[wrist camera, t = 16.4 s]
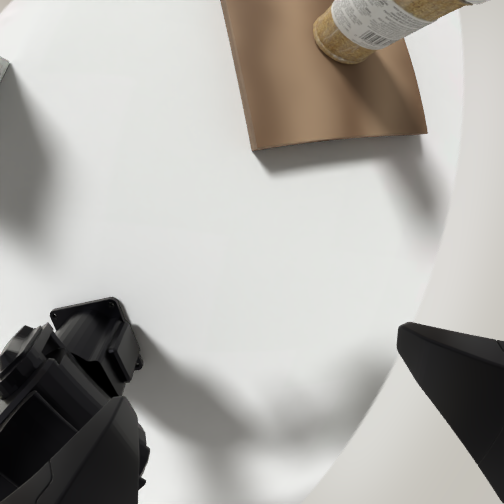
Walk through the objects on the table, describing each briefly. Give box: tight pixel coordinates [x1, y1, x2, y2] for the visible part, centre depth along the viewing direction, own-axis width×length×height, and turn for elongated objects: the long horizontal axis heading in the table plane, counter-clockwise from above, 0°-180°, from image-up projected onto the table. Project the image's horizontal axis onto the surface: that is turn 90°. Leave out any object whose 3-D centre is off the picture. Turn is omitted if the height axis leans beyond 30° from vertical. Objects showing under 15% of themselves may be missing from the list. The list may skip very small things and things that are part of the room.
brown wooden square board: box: [220, 0, 428, 151], centre depth 17 cm, size 14×14×2 cm
